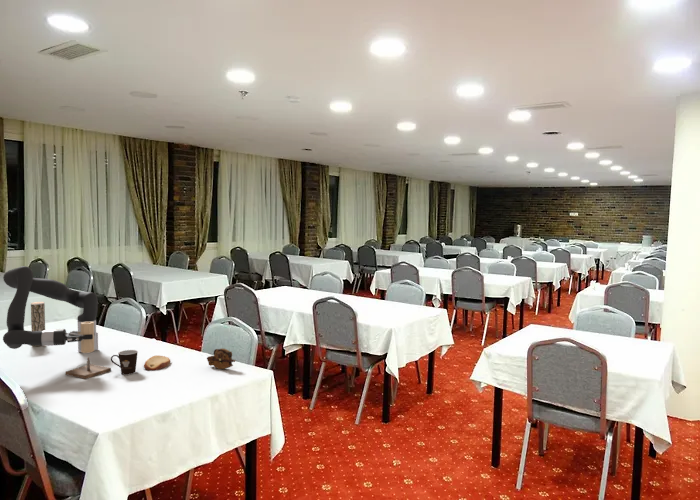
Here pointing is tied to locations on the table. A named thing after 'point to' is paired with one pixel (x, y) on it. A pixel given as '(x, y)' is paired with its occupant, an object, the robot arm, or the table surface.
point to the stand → (88, 370)
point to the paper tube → (38, 316)
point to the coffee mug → (127, 361)
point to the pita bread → (156, 363)
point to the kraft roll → (87, 344)
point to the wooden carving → (221, 359)
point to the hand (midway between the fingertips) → (93, 335)
